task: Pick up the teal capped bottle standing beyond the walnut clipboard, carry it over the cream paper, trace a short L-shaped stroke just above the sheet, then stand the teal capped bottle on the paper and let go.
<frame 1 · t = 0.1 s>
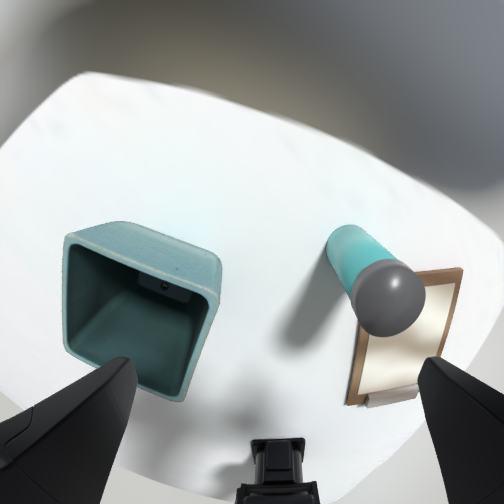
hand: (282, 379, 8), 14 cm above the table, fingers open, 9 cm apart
flower pot: (171, 268, 23), on the table
teal capped bottle: (348, 247, 21), on the table
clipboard: (403, 343, 24), on the table
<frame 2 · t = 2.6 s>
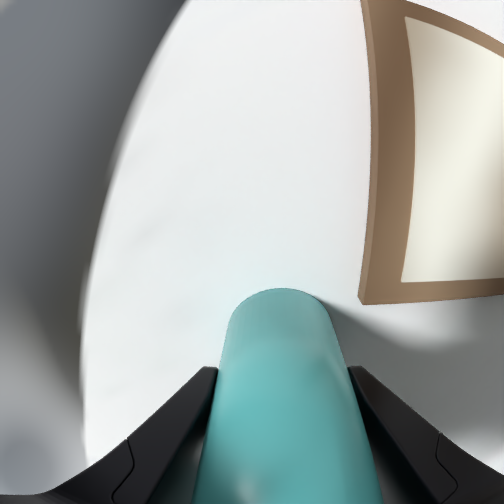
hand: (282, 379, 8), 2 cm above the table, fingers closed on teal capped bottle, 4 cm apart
teal capped bottle: (280, 334, 10), on the table, touching gripper
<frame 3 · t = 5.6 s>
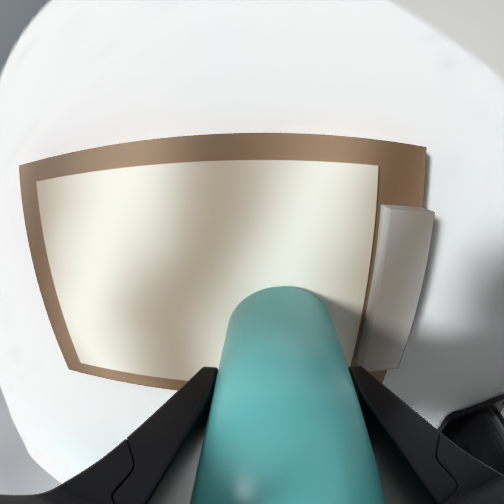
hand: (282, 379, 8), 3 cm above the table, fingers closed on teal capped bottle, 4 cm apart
teal capped bottle: (280, 333, 10), point 1 cm above the table, touching gripper
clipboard: (199, 283, 10), on the table
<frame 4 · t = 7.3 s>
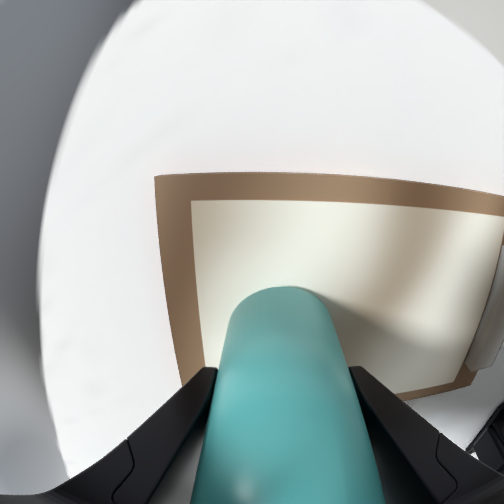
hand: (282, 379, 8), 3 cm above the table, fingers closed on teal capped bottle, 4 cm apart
teal capped bottle: (280, 333, 10), point 1 cm above the table, touching gripper
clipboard: (369, 311, 10), on the table
when the fingers open (3 cm above the table, at t = 8.6 s): teal capped bottle stays where it is, resting on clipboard.
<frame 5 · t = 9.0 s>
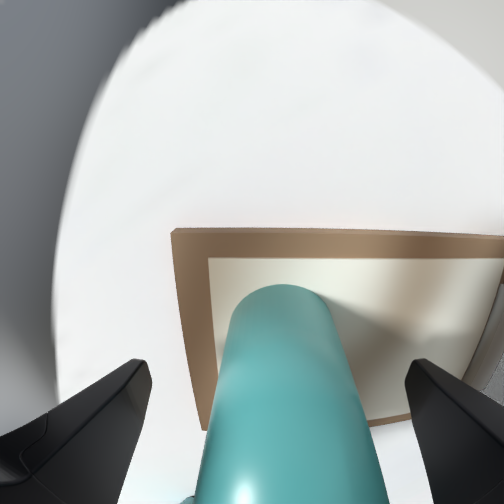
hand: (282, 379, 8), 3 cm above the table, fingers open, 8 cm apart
teal capped bottle: (281, 330, 10), point 1 cm above the table, touching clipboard
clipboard: (372, 348, 11), on the table
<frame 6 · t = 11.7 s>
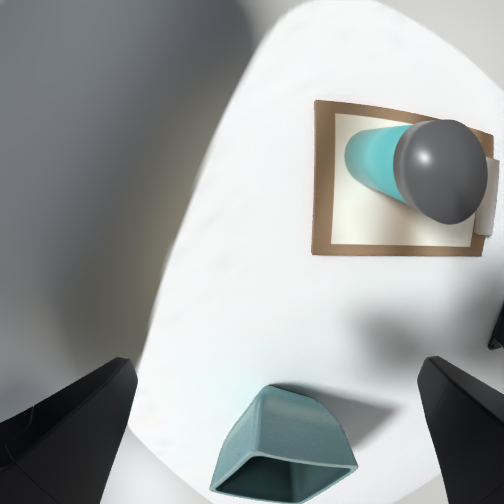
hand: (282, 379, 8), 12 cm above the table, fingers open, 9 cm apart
flower pot: (279, 404, 25), on the table
teal capped bottle: (370, 157, 16), point 1 cm above the table, touching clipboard
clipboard: (416, 185, 17), on the table
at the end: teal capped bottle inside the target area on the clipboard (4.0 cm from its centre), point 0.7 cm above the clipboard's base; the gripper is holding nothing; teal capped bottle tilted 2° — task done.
